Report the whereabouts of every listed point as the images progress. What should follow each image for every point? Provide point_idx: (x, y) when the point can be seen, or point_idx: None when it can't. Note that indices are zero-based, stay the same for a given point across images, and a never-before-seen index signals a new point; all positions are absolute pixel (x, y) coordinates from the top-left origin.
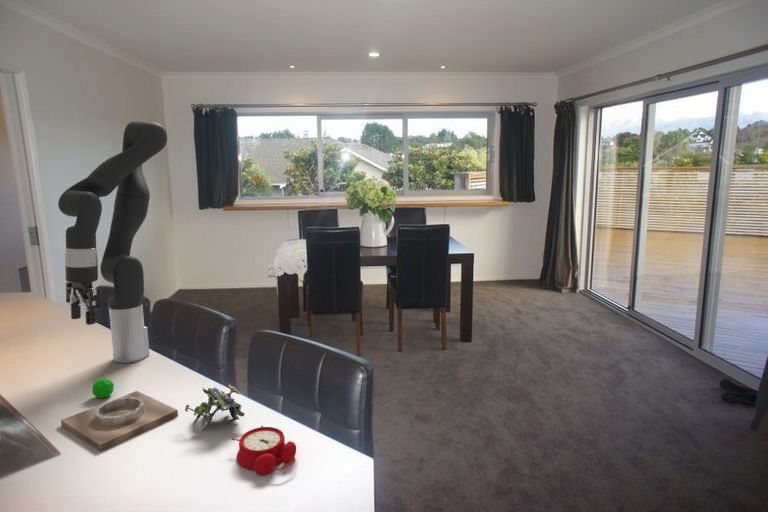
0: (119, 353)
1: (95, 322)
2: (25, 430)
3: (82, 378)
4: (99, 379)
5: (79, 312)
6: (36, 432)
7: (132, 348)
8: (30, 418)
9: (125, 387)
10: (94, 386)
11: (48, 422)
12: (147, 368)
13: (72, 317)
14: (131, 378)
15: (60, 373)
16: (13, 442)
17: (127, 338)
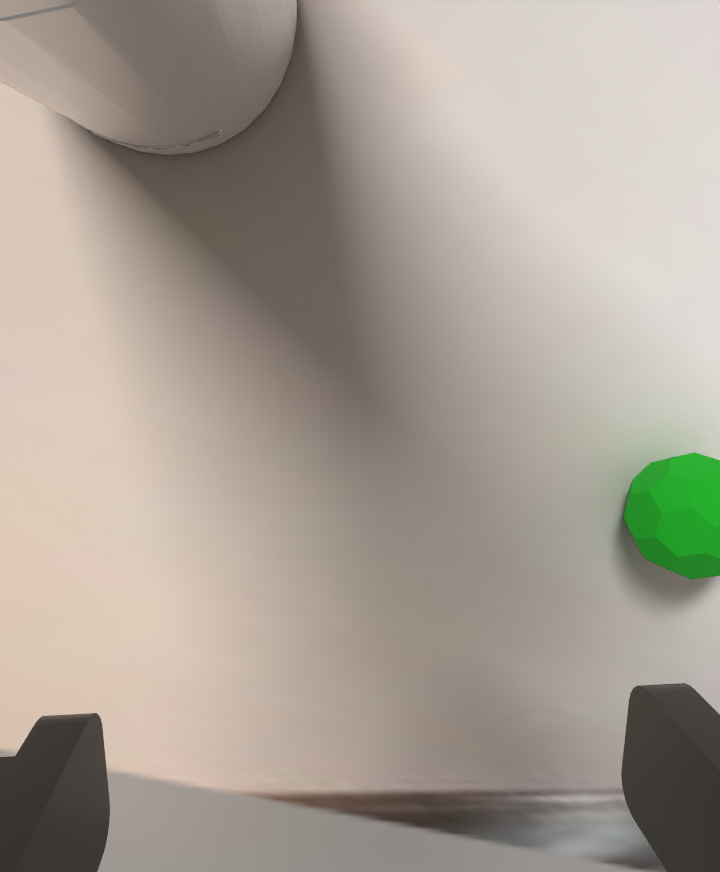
0: (212, 128)
1: (690, 686)
2: None
3: (282, 455)
4: (709, 551)
5: (54, 812)
6: None
7: (288, 9)
8: (561, 781)
9: (664, 357)
10: (703, 576)
11: None
12: (512, 66)
13: (98, 861)
14: (573, 256)
15: (63, 506)
16: None
17: (267, 7)
